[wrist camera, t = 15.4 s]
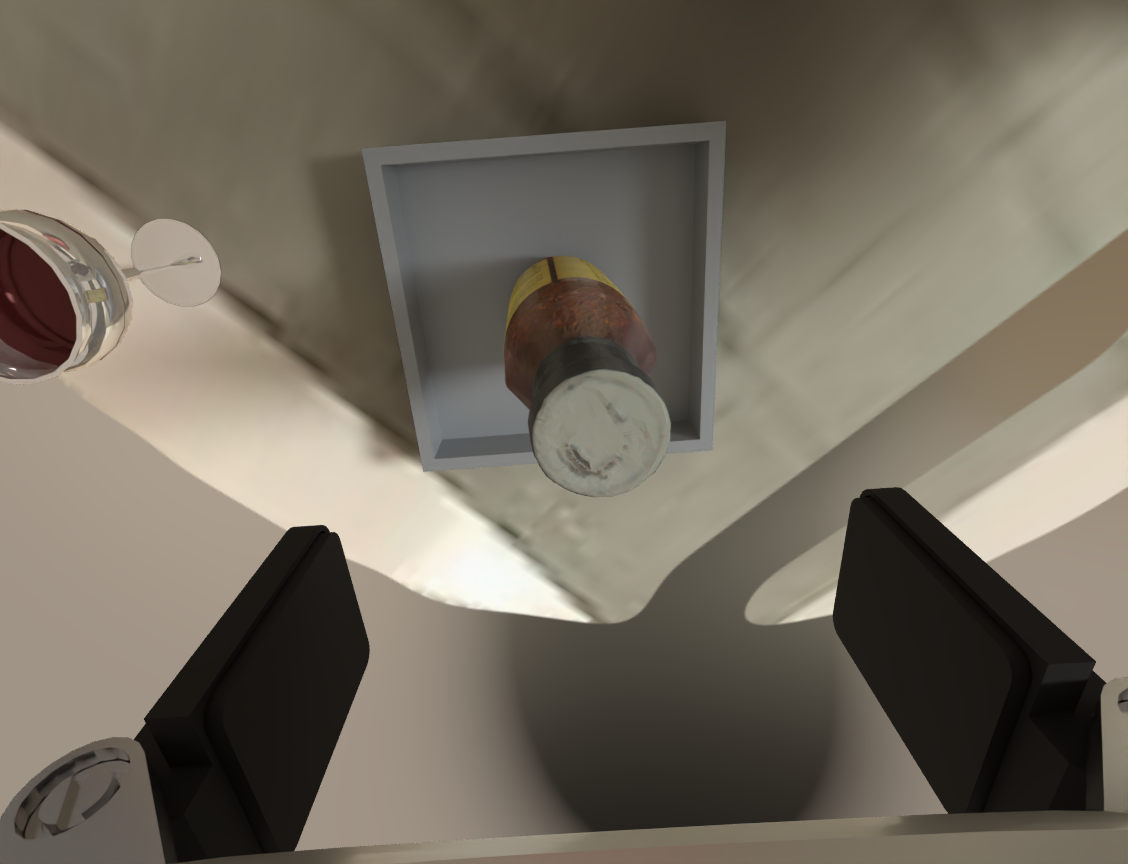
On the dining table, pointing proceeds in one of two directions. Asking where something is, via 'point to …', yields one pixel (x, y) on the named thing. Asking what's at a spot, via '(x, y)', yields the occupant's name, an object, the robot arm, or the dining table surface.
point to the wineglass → (85, 289)
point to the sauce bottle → (584, 378)
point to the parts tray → (531, 233)
